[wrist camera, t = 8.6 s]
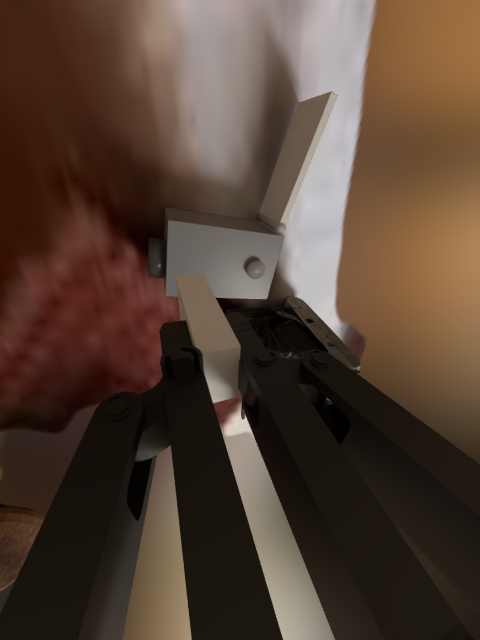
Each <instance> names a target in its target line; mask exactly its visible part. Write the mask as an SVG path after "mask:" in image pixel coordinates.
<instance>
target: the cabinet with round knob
mask: <svg viewBox="0 0 480 640" xmlns="http://www.w3.org/2000/svg"><path fill="white" fill-rule="evenodd" d="M283 239H284V236H283V235H282V234H280V233H278V232H277V231H275V230H273V229H272V228H270V227H269V226H267V225H266V224H264V223H262V222H260V221H253V220H247V219H240V218H234V217H228V216H221V215H215V214H208V213H202V212H195V211H189V210H183V209H176V208H170V207H165V230H164V239H156V238H149V244H148V261H149V277H157V278H164V282H165V293H166V296H178V292H177V284H176V276H182V275H192V274H202V273H203V275H204V277H205V279H206V281H207V283H208V285H209V286H210V288H211V290H212V292H213V294H214V296H215V298H243V299H267V296H268V293H269V289H270V286H271V282H272V278H273V275H274V271H275V268H276V264H277V261H278V257H279V254H280V250H281V246H282V243H283Z"/></svg>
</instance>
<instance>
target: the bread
mask: <svg viewBox="0 0 480 640" xmlns="http://www.w3.org/2000/svg"><path fill="white" fill-rule="evenodd" d="M45 517H46V516H44V515H41V514H40V513H38V512H36V511H34V510H32V509H28V508H23V507H15V506H0V591H1V590H3V589H4V588H6V587H8V586H9V585H11V584H12V583H13V582H15V581H16V579H17V577H18V574H19V572H20V570H21V568H22V566H23V564H24V562H25V559H26V557H27V555H28V553H29V551H30V549H31V547H32V544H33V542H34V540H35V538H36V536H37V534H38V532H39V529H40V527H41V525H42V523H43V521H44V519H45Z"/></svg>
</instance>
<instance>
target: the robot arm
mask: <svg viewBox="0 0 480 640" xmlns="http://www.w3.org/2000/svg"><path fill="white" fill-rule="evenodd" d="M176 284H177V292H178V300H179V308H180V316H181V321H176V322H170V323H164V324H163V326H162V327H161V329H160V339H161V348H162V356H161V361H160V364H161V369H162V374H163V377H162V379H161V380H160V382H159V383H158V384H157V385H156V386H155V387H153V388H152V389H150V390H148V391H146V392H144V393H142V394H140V395H138V394H136V393H134V392H127V391H125V392H120V393H116V394H114V395H112V396H109V397H107V398H106V399H105V400H104V401H103V402H101V403H100V404H99V406H98V407H97V409H96V410H95V411H94V414H93V416H92V418H91V420H90V422H89V424H88V427H87V429H86V431H85V433H84V435H83V437H82V439H81V441H80V444H79V446H78V448H77V450H76V452H75V455H74V457H73V459H72V461H71V463H70V465H69V467H68V469H67V471H66V474H65V476H64V478H63V480H62V482H61V484H60V486H59V489H58V491H57V493H56V495H55V497H54V500H53V501H52V504H51V506H50V508H49V510H48V512H47V515H46V517H45V519H44V521H43V523H42V525H41V527H40V529H39V532H38V534H37V536H36V538H35V540H34V542H33V544H32V547H31V549H30V551H29V553H28V555H27V557H26V559H25V562H24V564H23V566H22V568H21V570H20V572H19V574H18V577H17V579H16V581H15V583H14V585H13V587H12V589H11V592H10V594H9V596H8V598H7V600H6V602H5V604H4V607H3V609H2V611H1V613H0V640H122V636H123V632H124V626H125V621H126V616H127V610H128V605H129V600H130V595H131V589H132V584H133V578H134V574H135V568H136V563H137V557H138V552H139V547H140V542H141V536H142V531H143V526H144V520H145V515H146V510H147V505H148V499H149V494H150V488H151V483H152V478H153V472H154V467H155V462H156V457H157V454H158V453H160V452H161V451H163V450H164V449H166V448H167V447H169V446H170V445H171V451H172V460H173V469H174V479H175V487H176V497H177V507H178V516H179V525H180V534H181V543H182V553H183V561H184V571H185V581H186V590H187V599H188V609H189V618H190V627H191V636H192V640H283V638H282V635H281V632H280V628H279V625H278V621H277V618H276V615H275V611H274V608H273V604H272V601H271V598H270V594H269V591H268V587H267V584H266V581H265V577H264V574H263V571H262V567H261V564H260V561H259V557H258V554H257V550H256V547H255V544H254V540H253V537H252V533H251V530H250V527H249V523H248V520H247V516H246V513H245V510H244V506H243V503H242V500H241V496H240V493H239V489H238V486H237V482H236V479H235V476H234V473H233V469H232V465H231V462H230V459H229V456H228V452H227V449H226V445H225V442H224V439H223V435H222V432H221V428H220V425H219V421H218V418H217V415H216V411H215V408H214V405H213V403H215V402H219V401H223V400H227V399H231V398H235V397H238V389H239V390H240V393H241V395H242V410H241V417H242V419H245V415H246V417H247V420H248V422H249V425H250V427H251V430H252V432H253V435H254V437H255V440H256V442H257V445H258V447H259V450H260V452H261V455H262V457H263V460H264V462H265V465H266V467H267V470H268V472H269V475H270V477H271V480H272V482H273V485H274V487H275V490H276V492H277V495H278V497H279V500H280V503H281V505H282V508H283V510H284V512H285V515H286V517H287V520H288V523H289V525H290V528H291V530H292V533H293V535H294V538H295V540H296V542H297V545H298V548H299V550H300V553H301V555H302V558H303V560H304V563H305V565H306V568H307V570H308V572H309V575H310V578H311V580H312V582H313V585H314V588H315V589H316V593H317V595H318V598H319V600H320V602H321V605H322V607H323V610H324V613H325V615H326V618H327V620H328V623H329V625H330V628H331V630H332V633H333V635H334V638H335V640H475V639H474V638H473V637H472V636H471V635H470V634H469V632H468V631H467V630H466V628H465V627H464V626H463V624H462V623H461V622H460V620H459V619H458V617H457V616H456V615H455V613H454V612H453V610H452V609H451V607H450V606H449V604H448V603H447V601H446V600H445V598H444V597H443V595H442V594H441V592H439V589H438V588H437V587H436V585H435V584H434V582H433V581H432V579H431V578H430V576H429V575H428V573H427V572H426V570H425V569H424V568H423V566H422V565H421V563H420V562H419V560H418V559H417V557H416V556H415V554H414V553H413V552H412V550H411V548H410V547H409V546H408V544H407V543H406V541H405V540H404V538H403V537H402V535H401V534H400V532H399V531H398V529H397V528H396V526H395V525H394V524H393V522H392V521H391V519H390V518H389V516H390V517H391V518H392V520H393V521H394V522H395V523H396V524H397V525H398V526H399V527H400V528H401V529H402V530H403V531H404V533H405V534H406V535H407V536H408V537H409V538H410V539H411V540H412V541H413V542H414V543H415V544H416V546H417V547H418V548H419V549H420V550H421V551H422V552H423V553H424V554H425V556H426V557H427V558H428V559H429V560H430V561H431V562H432V563H433V564H434V565H435V566H436V568H437V569H438V570H439V571H440V572H441V573H442V574H443V575H444V576H445V577H446V578H447V579H448V581H449V582H450V583H451V584H452V585H453V586H454V587H455V588H456V589H457V590H458V591H459V592H460V594H461V595H462V596H463V597H464V598H465V599H466V600H467V601H468V602H469V603H470V605H471V606H472V607H473V608H474V609H475V610H476V611H477V612H478V613H479V614H480V464H479V463H477V462H476V461H475V460H473V459H472V458H471V457H469V456H468V455H467V454H465V453H464V452H462V451H461V450H460V449H458V448H457V447H455V446H454V445H453V444H452V443H450V442H449V441H448V440H446V439H445V438H443V437H442V436H441V435H439V434H438V433H437V432H435V431H434V430H433V429H431V428H430V427H429V426H427V425H426V424H424V423H423V422H422V421H420V420H419V419H418V418H416V417H415V416H413V415H412V414H411V413H410V412H408V411H407V410H405V409H404V408H403V407H401V406H400V405H399V404H397V403H396V402H395V401H393V400H392V399H391V398H389V397H388V396H387V395H385V394H384V393H382V392H381V391H380V390H378V389H377V388H376V387H374V386H373V385H372V384H370V383H369V382H368V381H366V380H365V379H363V378H362V377H361V376H359V375H358V374H357V373H355V372H354V371H353V370H351V369H350V368H349V367H347V366H346V365H344V364H343V363H342V362H340V361H339V360H338V359H336V358H335V357H334V356H332V355H331V354H329V353H327V352H325V351H322V350H317V349H311V350H307V351H305V352H304V353H303V354H302V357H301V359H287V358H281V357H279V355H278V354H277V353H276V352H275V351H273V350H271V349H268V348H265V346H264V345H263V343H262V342H261V340H260V339H259V337H258V335H257V334H256V332H255V331H254V329H253V328H252V326H251V325H250V324H249V321H248V320H247V318H246V317H245V316H244V315H242V314H241V313H239V312H231V313H225V314H224V313H223V311H222V309H221V308H220V306H219V304H218V302H217V300H216V298H215V296H214V294H213V292H212V290H211V288H210V286H209V285H208V283H207V281H206V279H205V277H204V275H203V273H202V274H192V275H182V276H176ZM326 398H328V399H329V400H330V401H331V402H330V401H329V400H327V399H326ZM387 514H388V515H389V516H388V515H387Z"/></svg>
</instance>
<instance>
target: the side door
mask: <svg viewBox="0 0 480 640" xmlns="http://www.w3.org/2000/svg"><path fill="white" fill-rule="evenodd" d="M337 96H338V95H336V94H335V93H334V92H332V91H331V92H328V93H326V94H323V95H320V96H317V97H314V98H311V99H308V100H305V101H302V102H299V103H298V104H297V107H296V110H295V113H294V115H293V118H292V121H291V124H290V127H289V130H288V133H287V135H286V138H285V141H284V144H283V147H282V150H281V153H280V156H279V158H278V161H277V164H276V167H275V170H274V173H273V176H272V179H271V181H270V184H269V187H268V190H267V193H266V196H265V199H264V201H263V204H262V207H261V210H260V212H259V213H258V214H257V219H258V220H259V221H261V222H262V223H264V224H266V225H267V226H269V227H270V228H272V229H273V230H275V231H277V232H278V233H283V232H284V231H285V229H286V226H285V224H286V222H287V219H288V217H289V214H290V212H291V210H292V207H293V205H294V202H295V200H296V197H297V195H298V192H299V190H300V187H301V185H302V182H303V180H304V178H305V175H306V173H307V170H308V168H309V165H310V163H311V160H312V158H313V155H314V153H315V150H316V148H317V145H318V143H319V141H320V138H321V136H322V133H323V131H324V128H325V126H326V123H327V121H328V118H329V116H330V113H331V111H332V109H333V106H334V104H335V101H336V99H337Z"/></svg>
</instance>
